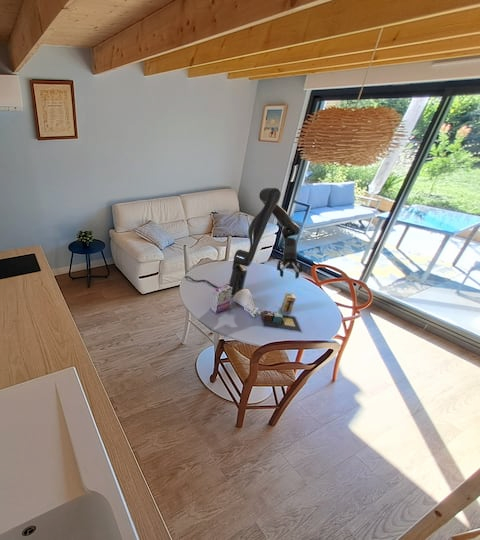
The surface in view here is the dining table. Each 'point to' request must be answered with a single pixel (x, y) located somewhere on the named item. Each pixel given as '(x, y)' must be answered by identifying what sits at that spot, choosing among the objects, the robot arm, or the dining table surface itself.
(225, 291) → the candy bar box
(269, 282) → the dining table surface
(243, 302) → the rocket engine
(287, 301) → the tan rectangular block
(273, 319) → the letter block
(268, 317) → the letter block
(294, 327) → the word mat
